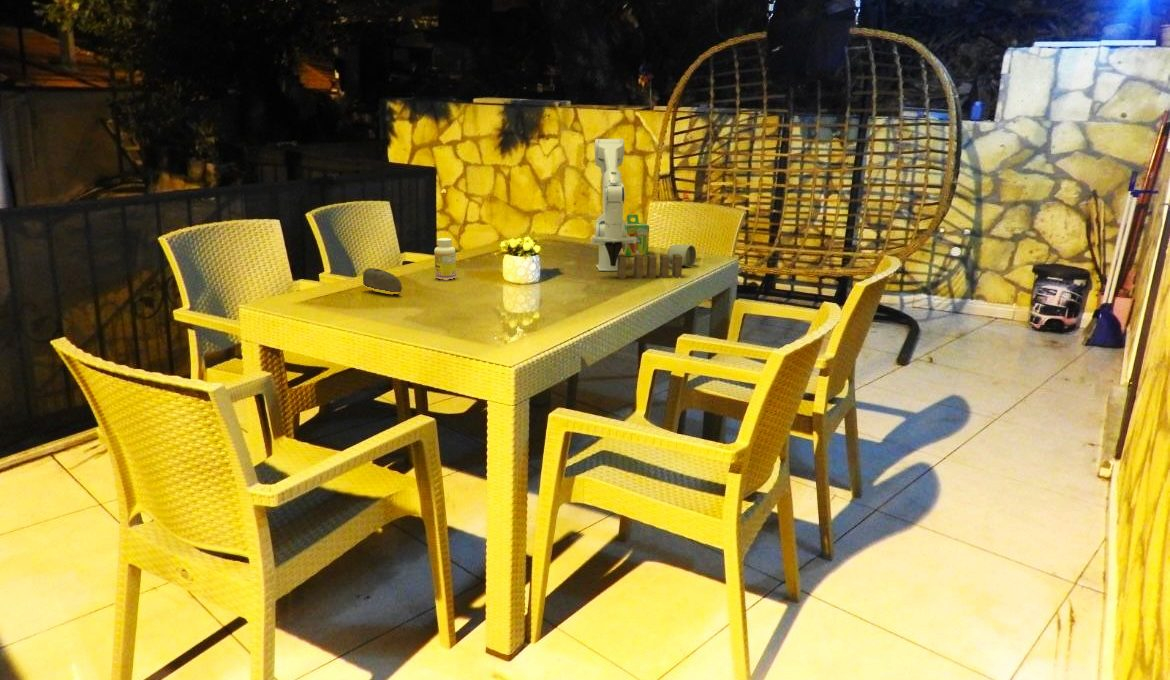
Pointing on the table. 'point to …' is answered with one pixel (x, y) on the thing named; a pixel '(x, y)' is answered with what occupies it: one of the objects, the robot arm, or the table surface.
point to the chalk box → (641, 237)
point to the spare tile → (621, 266)
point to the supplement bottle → (445, 259)
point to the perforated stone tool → (381, 280)
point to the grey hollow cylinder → (683, 254)
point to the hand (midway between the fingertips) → (613, 265)
